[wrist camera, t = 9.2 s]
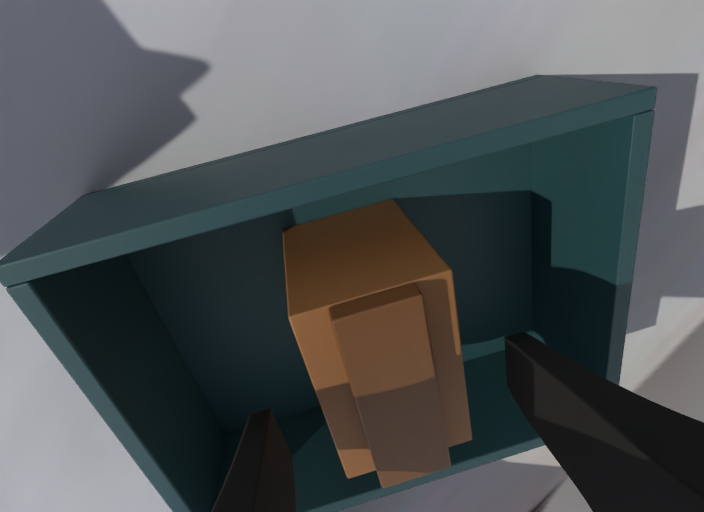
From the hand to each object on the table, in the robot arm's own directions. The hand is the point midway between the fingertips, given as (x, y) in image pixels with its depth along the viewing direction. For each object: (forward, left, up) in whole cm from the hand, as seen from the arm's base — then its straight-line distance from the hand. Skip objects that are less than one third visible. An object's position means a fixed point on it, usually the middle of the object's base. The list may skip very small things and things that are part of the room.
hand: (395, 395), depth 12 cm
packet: (0, 0, -6) cm, 6 cm away
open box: (0, 0, -7) cm, 7 cm away
